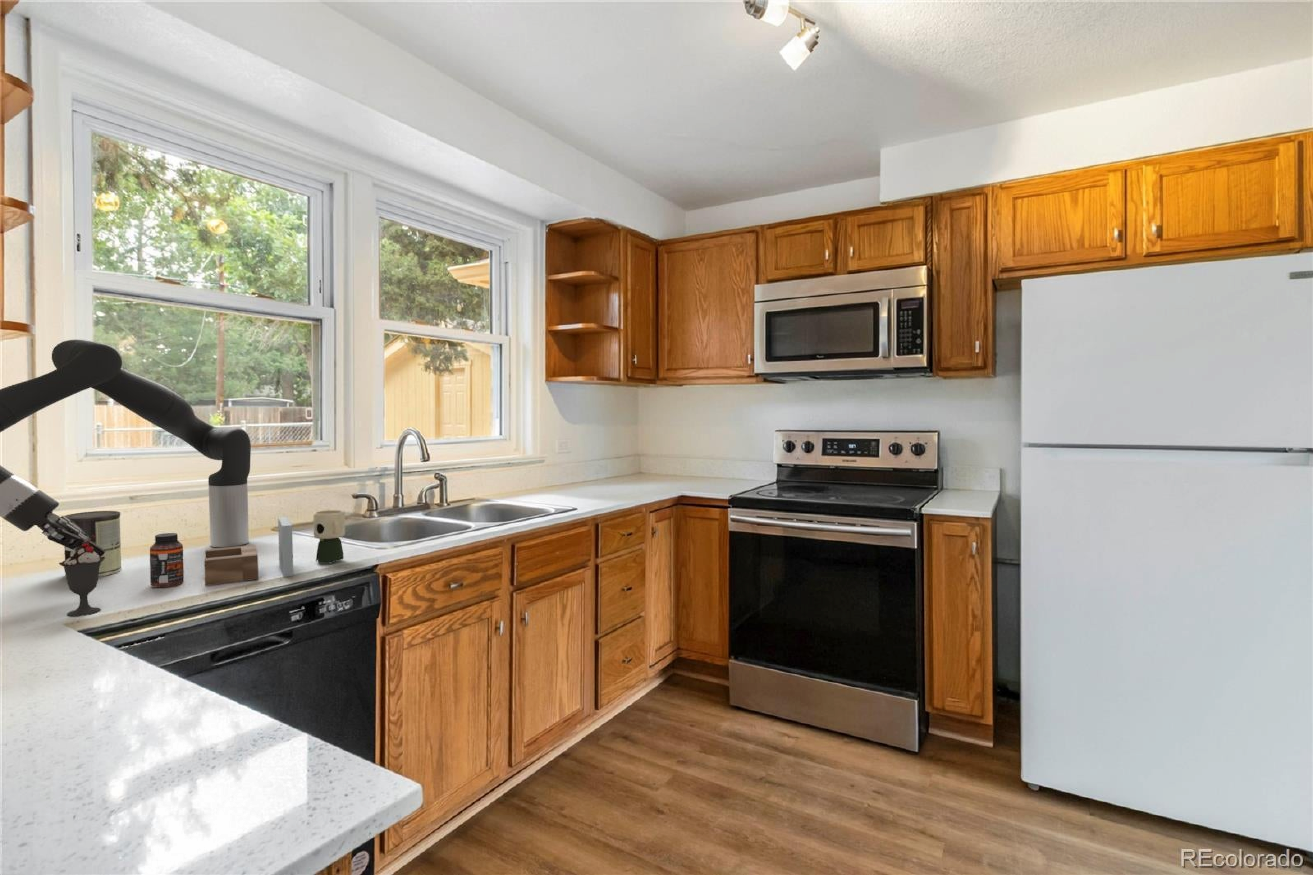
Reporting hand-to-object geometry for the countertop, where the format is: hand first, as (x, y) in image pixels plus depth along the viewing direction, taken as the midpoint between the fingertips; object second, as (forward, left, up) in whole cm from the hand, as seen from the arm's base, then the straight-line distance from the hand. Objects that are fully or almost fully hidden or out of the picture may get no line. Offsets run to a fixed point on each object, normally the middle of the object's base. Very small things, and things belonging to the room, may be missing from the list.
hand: (101, 556), depth 137 cm
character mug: (-3, +44, -8) cm, 45 cm away
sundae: (+15, -1, -8) cm, 17 cm away
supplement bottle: (0, +11, -8) cm, 14 cm away
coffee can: (-21, -4, -8) cm, 23 cm away
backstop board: (0, +34, -8) cm, 35 cm away
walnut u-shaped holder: (0, +23, -8) cm, 24 cm away
